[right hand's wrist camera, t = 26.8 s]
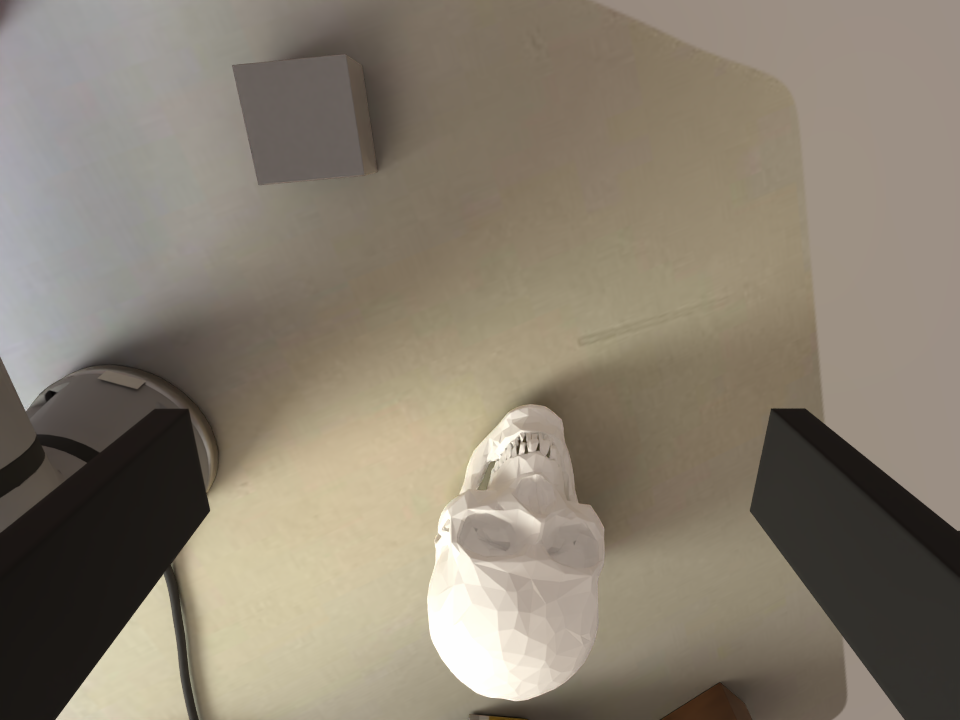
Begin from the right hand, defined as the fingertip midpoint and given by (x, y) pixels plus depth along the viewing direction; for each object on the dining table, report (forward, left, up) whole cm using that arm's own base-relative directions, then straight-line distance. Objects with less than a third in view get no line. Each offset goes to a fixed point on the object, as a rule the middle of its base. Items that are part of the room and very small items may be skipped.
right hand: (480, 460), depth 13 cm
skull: (-22, -9, -32) cm, 40 cm away
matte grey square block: (+5, +13, -32) cm, 35 cm away
